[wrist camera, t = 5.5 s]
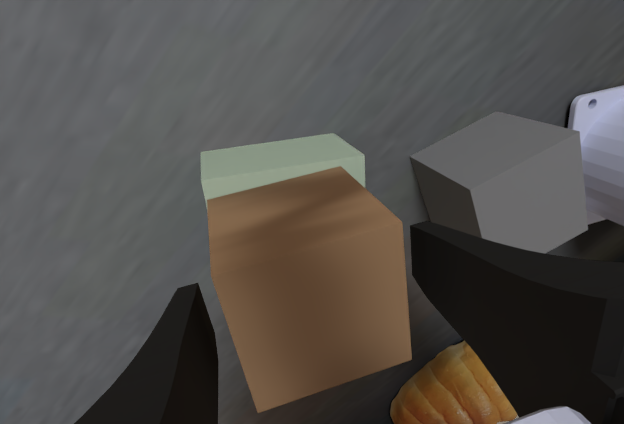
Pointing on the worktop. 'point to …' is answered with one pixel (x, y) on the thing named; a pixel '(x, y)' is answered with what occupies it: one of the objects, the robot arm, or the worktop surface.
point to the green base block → (276, 163)
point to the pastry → (452, 392)
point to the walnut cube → (309, 284)
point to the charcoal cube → (506, 182)
